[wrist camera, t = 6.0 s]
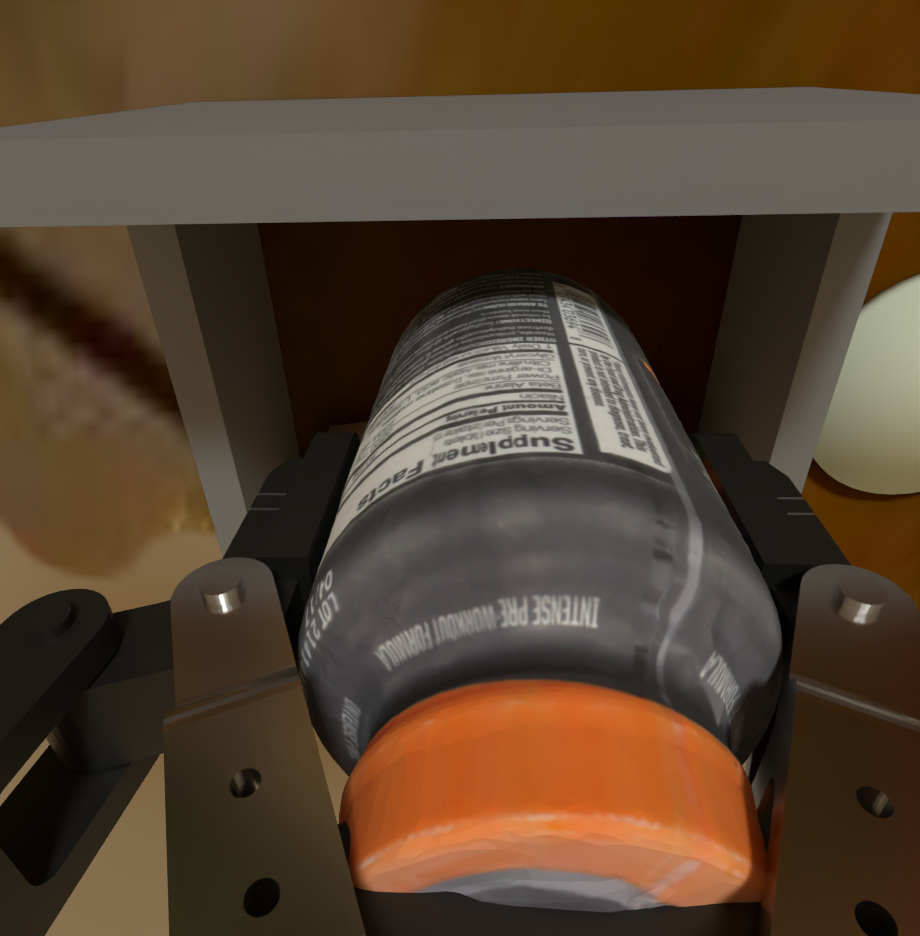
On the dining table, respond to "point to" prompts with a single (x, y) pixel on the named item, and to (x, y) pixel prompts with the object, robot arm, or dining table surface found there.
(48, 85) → the dining table surface
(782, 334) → the frame
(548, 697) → the pill bottle
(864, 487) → the coaster
